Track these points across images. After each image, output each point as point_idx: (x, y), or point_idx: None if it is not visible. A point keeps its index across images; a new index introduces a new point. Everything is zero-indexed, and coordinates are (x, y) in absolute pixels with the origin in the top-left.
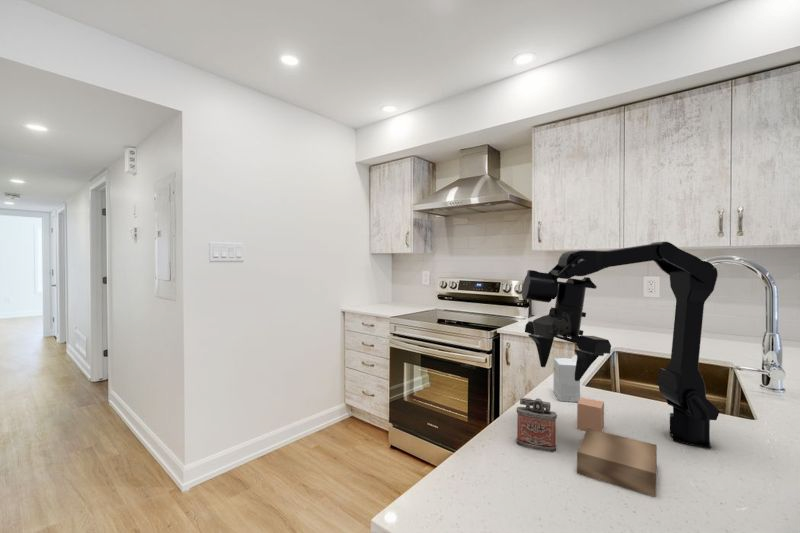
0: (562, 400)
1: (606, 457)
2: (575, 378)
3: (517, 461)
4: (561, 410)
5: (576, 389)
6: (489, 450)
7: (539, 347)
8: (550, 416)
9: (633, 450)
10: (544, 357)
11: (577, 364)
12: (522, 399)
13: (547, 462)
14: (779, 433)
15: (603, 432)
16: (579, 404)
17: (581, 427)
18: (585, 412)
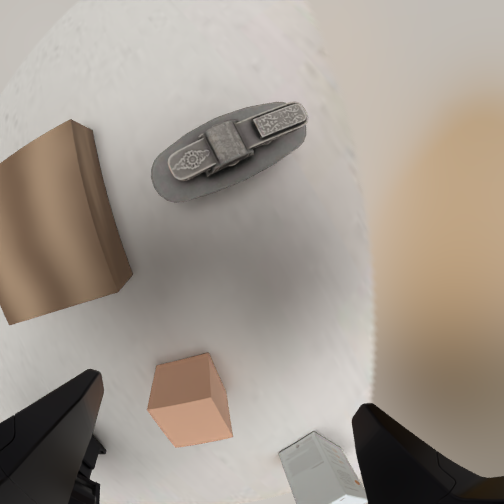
0: (308, 435)
1: (22, 159)
2: (87, 374)
3: (210, 64)
4: (288, 403)
5: (291, 470)
6: (286, 60)
7: (448, 478)
8: (164, 152)
9: (7, 253)
10: (381, 456)
11: (23, 435)
12: (290, 105)
13: (157, 113)
14: None
15: (82, 300)
16: (204, 397)
17: (198, 358)
18: (188, 387)
